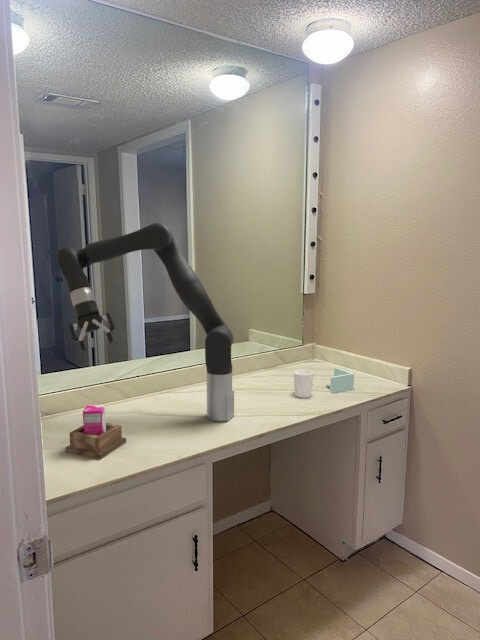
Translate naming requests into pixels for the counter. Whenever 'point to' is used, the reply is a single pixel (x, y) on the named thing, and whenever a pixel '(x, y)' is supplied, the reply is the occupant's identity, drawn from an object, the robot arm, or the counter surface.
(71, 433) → the post socket
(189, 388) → the counter surface
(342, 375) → the right angle wall
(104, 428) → the supplement box
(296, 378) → the white cup
